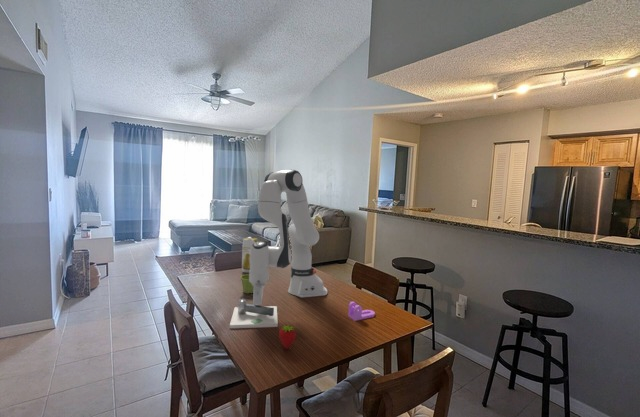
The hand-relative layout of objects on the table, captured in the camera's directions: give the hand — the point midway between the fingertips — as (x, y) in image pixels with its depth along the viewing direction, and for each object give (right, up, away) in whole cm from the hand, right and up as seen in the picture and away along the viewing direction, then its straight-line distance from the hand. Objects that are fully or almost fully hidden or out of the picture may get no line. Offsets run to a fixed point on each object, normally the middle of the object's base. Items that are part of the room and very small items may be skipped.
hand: (258, 306), depth 140 cm
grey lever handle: (0, -3, -4) cm, 5 cm away
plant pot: (-11, -1, +28) cm, 30 cm away
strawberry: (+16, -7, -27) cm, 32 cm away
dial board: (-1, -4, -3) cm, 5 cm away
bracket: (+49, -6, +4) cm, 50 cm away
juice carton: (-19, +2, +65) cm, 68 cm away
